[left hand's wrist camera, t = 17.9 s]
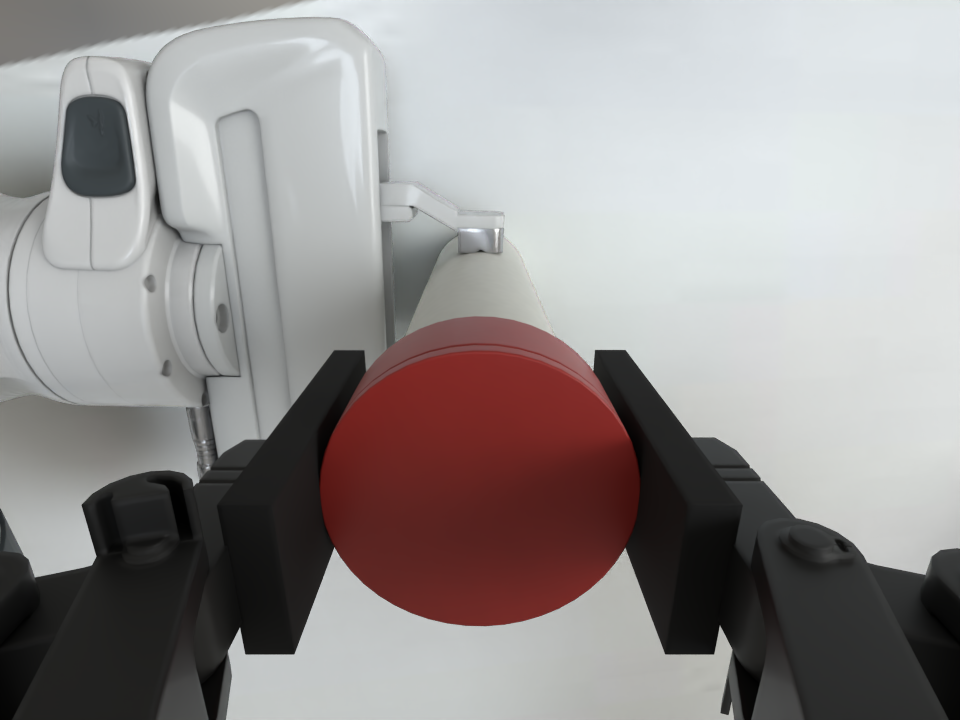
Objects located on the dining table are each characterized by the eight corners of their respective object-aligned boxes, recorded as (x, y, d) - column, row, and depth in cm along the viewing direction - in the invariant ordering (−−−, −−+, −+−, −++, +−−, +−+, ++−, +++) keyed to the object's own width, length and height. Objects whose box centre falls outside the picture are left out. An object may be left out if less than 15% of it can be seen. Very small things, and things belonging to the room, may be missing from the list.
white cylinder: (468, 210, 28) (446, 312, 9) (543, 265, 29) (656, 454, 10) (416, 286, 29) (309, 505, 11) (490, 336, 30) (506, 615, 12)
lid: (485, 593, 13) (487, 672, 11) (291, 450, 12) (253, 510, 10) (669, 437, 12) (708, 495, 10) (472, 254, 11) (470, 277, 8)
